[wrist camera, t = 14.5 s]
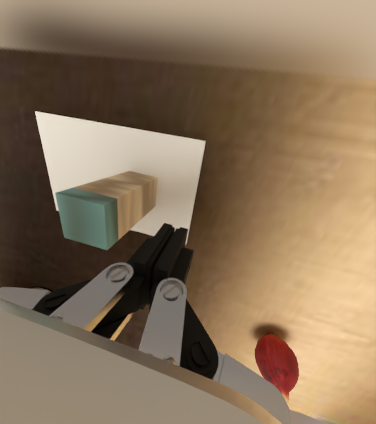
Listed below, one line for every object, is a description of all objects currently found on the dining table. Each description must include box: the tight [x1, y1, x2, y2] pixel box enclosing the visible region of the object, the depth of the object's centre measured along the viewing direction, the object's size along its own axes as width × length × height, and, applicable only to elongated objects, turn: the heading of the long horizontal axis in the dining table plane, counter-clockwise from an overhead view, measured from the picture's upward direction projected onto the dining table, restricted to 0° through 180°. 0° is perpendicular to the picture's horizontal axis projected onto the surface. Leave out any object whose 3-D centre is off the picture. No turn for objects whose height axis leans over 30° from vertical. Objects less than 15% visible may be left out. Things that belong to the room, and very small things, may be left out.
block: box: [55, 171, 158, 250], centre depth 17 cm, size 4×4×10 cm
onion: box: [255, 334, 299, 403], centre depth 24 cm, size 6×6×8 cm
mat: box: [35, 111, 206, 244], centre depth 22 cm, size 22×14×1 cm, turn 81°
